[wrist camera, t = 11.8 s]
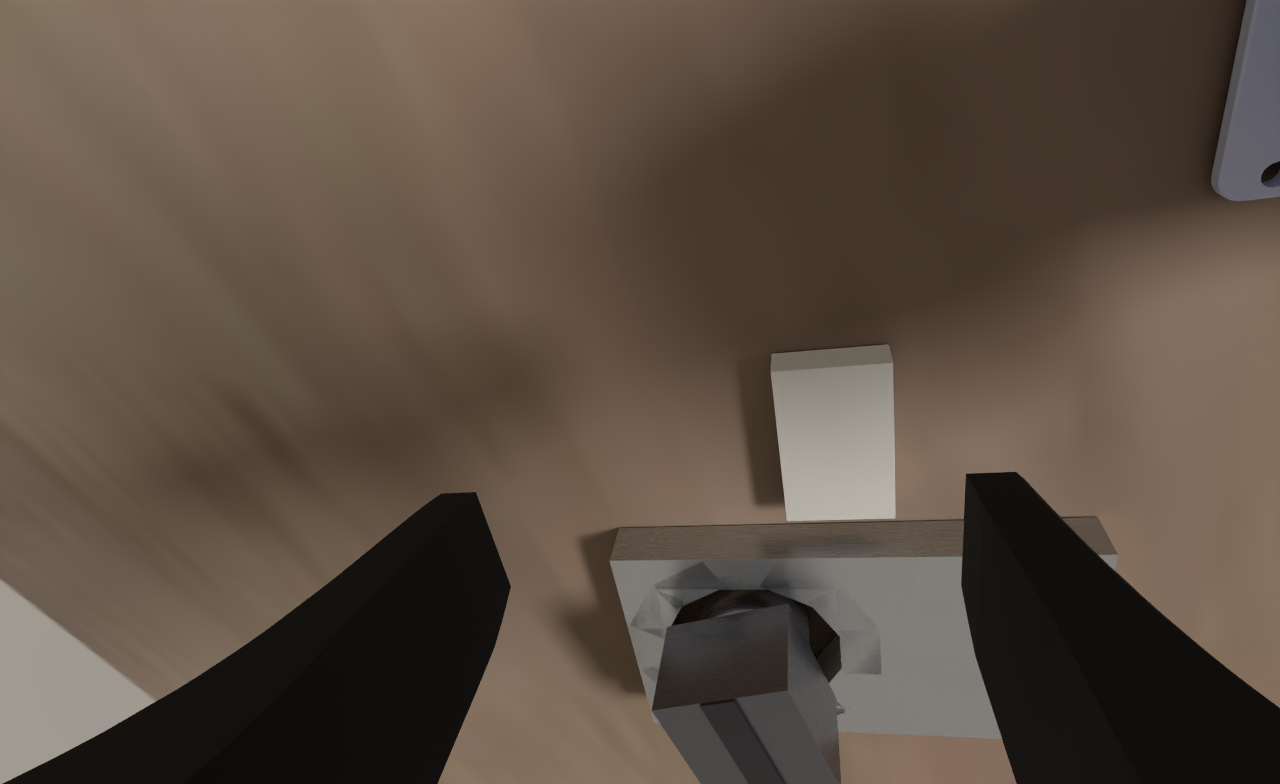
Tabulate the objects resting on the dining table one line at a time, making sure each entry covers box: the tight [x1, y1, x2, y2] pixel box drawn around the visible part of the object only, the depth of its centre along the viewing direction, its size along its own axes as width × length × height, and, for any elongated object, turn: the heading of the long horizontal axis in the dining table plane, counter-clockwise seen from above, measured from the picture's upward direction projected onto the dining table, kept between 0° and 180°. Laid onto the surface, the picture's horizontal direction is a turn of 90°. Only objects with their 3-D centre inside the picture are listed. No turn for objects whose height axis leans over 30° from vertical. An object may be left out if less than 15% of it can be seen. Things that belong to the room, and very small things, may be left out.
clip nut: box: [652, 590, 841, 784], centre depth 23 cm, size 4×4×5 cm
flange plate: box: [610, 517, 1118, 739], centre depth 23 cm, size 14×8×2 cm, turn 101°
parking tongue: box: [771, 344, 895, 521], centre depth 20 cm, size 3×5×1 cm, turn 11°
